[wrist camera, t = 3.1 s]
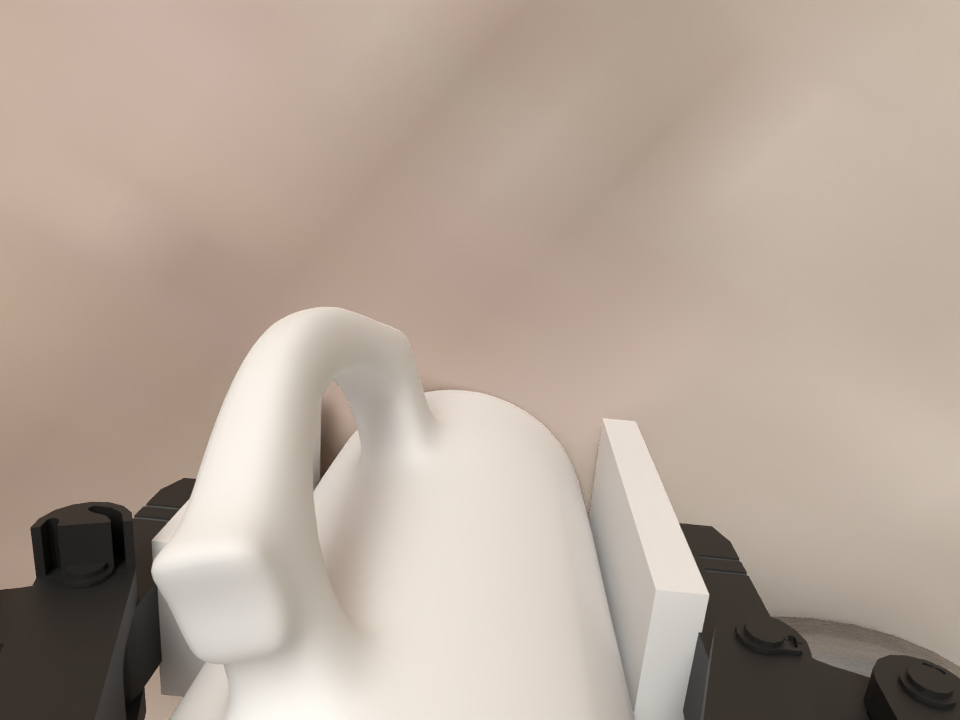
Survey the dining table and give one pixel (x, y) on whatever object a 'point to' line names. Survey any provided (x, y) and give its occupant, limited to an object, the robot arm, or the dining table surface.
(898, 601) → the dining table surface
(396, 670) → the mug
